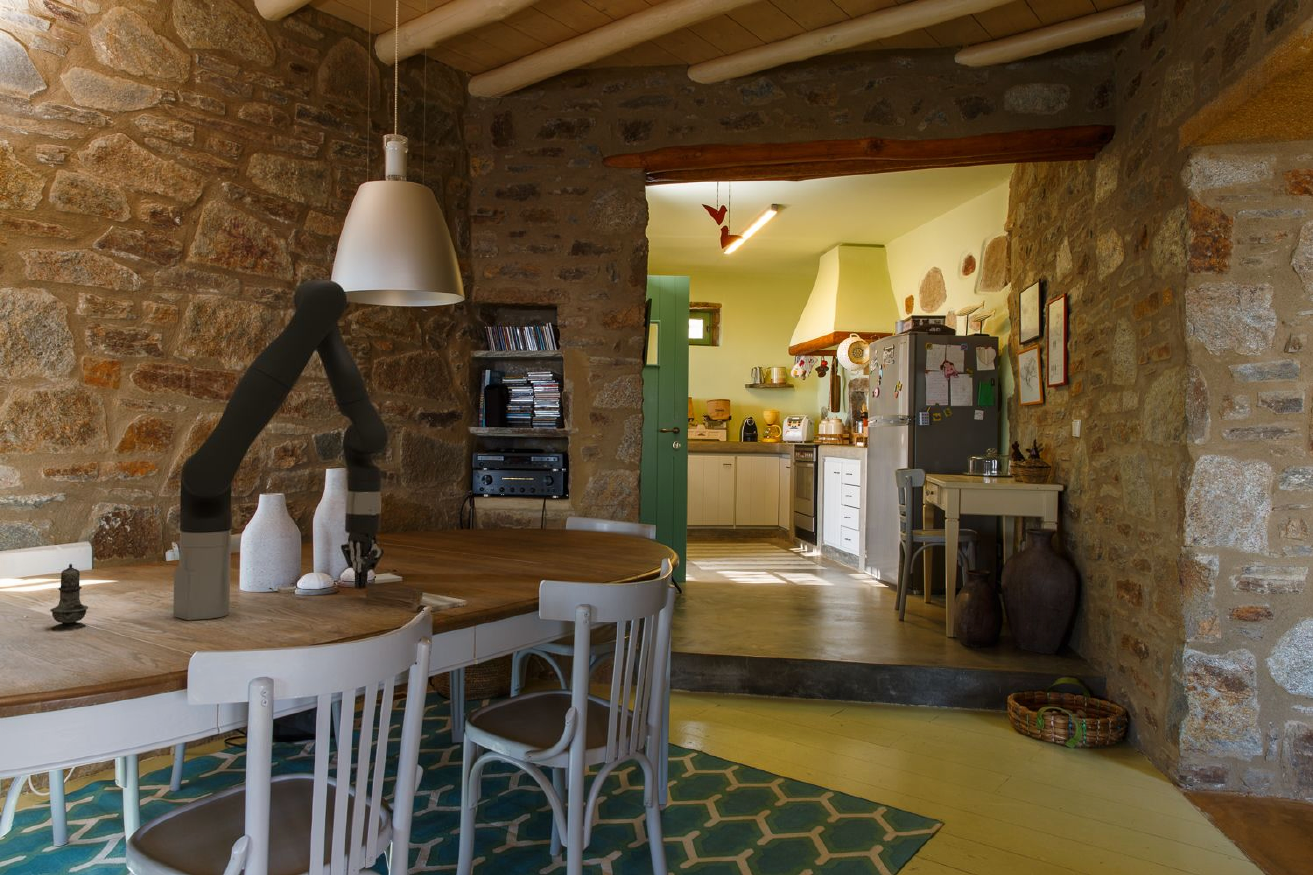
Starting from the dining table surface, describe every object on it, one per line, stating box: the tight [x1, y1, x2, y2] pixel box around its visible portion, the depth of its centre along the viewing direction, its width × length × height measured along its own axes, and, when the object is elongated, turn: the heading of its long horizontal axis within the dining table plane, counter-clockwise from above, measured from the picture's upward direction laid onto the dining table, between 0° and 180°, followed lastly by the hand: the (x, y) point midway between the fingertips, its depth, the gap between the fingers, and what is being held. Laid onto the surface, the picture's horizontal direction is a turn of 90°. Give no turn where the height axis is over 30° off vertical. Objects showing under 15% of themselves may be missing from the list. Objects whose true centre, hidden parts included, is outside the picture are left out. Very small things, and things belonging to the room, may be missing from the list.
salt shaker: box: [49, 563, 89, 632], centre depth 160 cm, size 6×6×12 cm
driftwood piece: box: [365, 582, 424, 613], centre depth 185 cm, size 15×2×5 cm, turn 66°
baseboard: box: [277, 568, 403, 594], centre depth 212 cm, size 30×3×10 cm
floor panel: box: [417, 592, 468, 612], centre depth 192 cm, size 10×20×1 cm, turn 56°
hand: (360, 588), depth 193 cm, fingers closed
